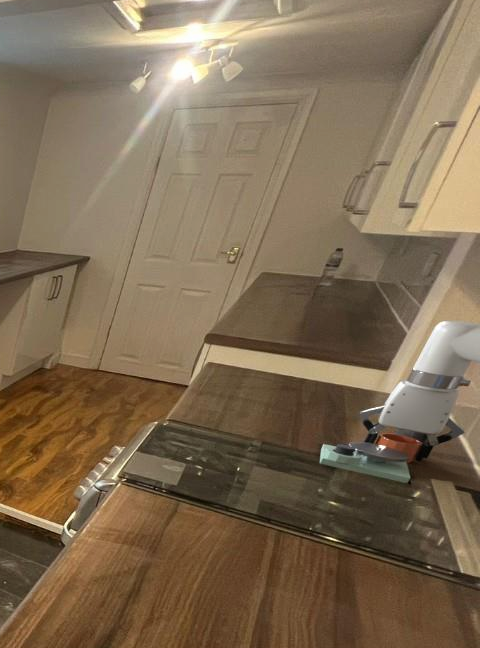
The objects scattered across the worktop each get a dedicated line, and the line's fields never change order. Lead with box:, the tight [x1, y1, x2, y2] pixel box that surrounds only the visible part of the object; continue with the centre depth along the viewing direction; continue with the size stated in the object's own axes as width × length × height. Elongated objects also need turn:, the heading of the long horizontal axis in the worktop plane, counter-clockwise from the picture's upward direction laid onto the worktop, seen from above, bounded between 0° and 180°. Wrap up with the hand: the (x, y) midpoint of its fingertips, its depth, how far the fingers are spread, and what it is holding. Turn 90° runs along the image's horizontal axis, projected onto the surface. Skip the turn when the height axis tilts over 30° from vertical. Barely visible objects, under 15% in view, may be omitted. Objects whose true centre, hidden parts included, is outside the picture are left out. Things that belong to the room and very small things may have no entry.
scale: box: [319, 443, 411, 484], centre depth 129 cm, size 14×12×3 cm
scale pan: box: [348, 441, 409, 464], centre depth 129 cm, size 10×10×4 cm
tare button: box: [334, 443, 356, 456], centre depth 128 cm, size 3×3×2 cm
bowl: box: [374, 432, 423, 464], centre depth 132 cm, size 7×7×5 cm
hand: (392, 453), depth 133 cm, fingers open, 7 cm apart
